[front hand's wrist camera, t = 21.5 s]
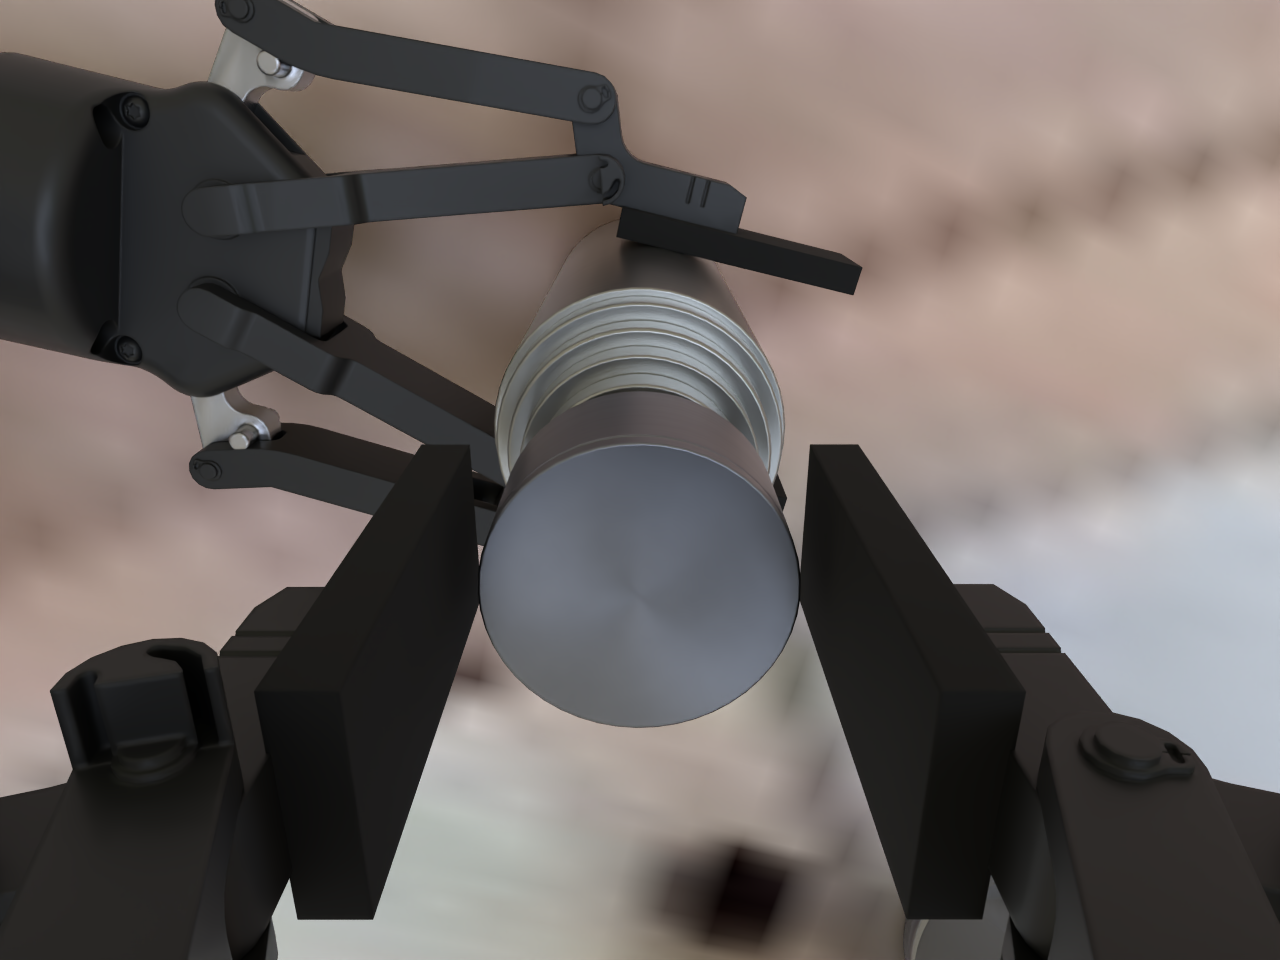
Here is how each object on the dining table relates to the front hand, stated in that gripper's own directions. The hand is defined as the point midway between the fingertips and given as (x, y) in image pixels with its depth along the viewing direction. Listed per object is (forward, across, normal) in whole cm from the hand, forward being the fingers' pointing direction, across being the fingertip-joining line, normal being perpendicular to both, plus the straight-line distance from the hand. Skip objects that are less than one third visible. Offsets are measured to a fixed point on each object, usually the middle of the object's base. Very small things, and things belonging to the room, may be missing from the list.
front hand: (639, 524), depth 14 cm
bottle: (+19, 0, 0) cm, 19 cm away
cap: (-2, 0, 0) cm, 2 cm away
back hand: (+12, -5, +1) cm, 13 cm away
